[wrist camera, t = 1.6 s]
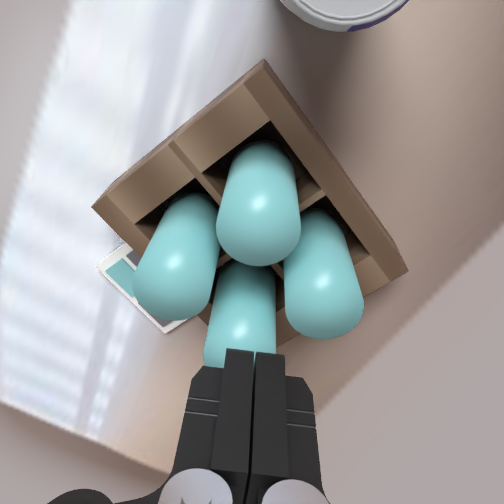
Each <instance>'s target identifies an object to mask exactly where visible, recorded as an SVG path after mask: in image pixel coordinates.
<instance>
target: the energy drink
mask: <svg viewBox="0 0 504 504" xmlns="http://www.w3.org/2000/svg"><path fill="white" fill-rule="evenodd" d="M280 1H281V2H282V3H283V4H284V6H285V7H287V8H288V9H289V10H290V11H291V12H293V13H294V14H295V15H297V16H298V17H299V18H301V19H302V20H303V21H305V22H307V23H309V24H311V25H313V26H316V27H318V28H320V29H325V30H330V31H335V32H349V31H356V30H361V29H365V28H369V27H371V26H373V25H376V24H378V23H380V22H382V21H384V20H386V19H387V18H389V17H390V16H392V15H393V14H394V13H396V12H397V11H399V10H400V9H401V8H402V7H403V6H404V5H405V4H406V3H407V2H408V1H409V0H280Z"/></svg>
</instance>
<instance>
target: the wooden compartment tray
mask: <svg viewBox="0 0 504 504" xmlns="http://www.w3.org/2000/svg"><path fill="white" fill-rule="evenodd" d="M270 120H271V122H272V123H273V124H274V126H275V127H276V128H277V130H278V131H279V132H280V134H281V135H282V136H283V138H284V139H285V140H286V142H287V143H288V145H289V146H290V147H291V149H292V150H293V151H294V153H295V154H296V155H297V157H298V158H299V159H300V161H301V162H302V163H303V165H304V166H305V167H306V169H307V170H308V172H307V173H305V174H304V175H302V176H301V177H300V178H298V179H297V180H296V188H297V196H298V205H299V213H300V212H301V211H303V210H304V209H306V208H307V207H309V206H310V205H312V204H313V203H315V202H316V201H317V200H319V199H320V198H322V197H323V196H325V195H326V196H327V197H328V198H329V200H330V201H331V202H332V204H333V205H334V206H335V208H336V209H337V210H338V212H339V213H340V214H341V216H342V217H343V219H344V220H345V221H346V223H347V224H348V225H349V227H350V228H351V229H352V231H351V232H349V233H347V234H346V235H344V236H345V239H346V243H347V246H348V249H349V253H350V256H351V259H352V263H353V266H354V270H355V273H356V276H357V280H358V283H359V286H360V290H361V293H362V297H365V296H366V295H368V294H370V293H372V292H373V291H375V290H377V289H379V288H380V287H382V286H384V285H386V284H387V283H389V282H391V281H392V280H394V279H396V278H398V277H399V276H401V275H403V274H405V273H406V272H408V269H407V267H406V265H405V263H404V261H403V259H402V257H401V255H400V253H399V251H398V249H397V247H396V245H395V242H394V240H393V239H392V238H391V236H390V235H389V233H388V232H387V231H386V229H385V228H384V226H383V225H382V223H381V222H380V221H379V219H378V218H377V216H376V215H375V214H374V212H373V211H372V209H371V208H370V207H369V205H368V204H367V202H366V201H365V199H364V198H363V197H362V195H361V194H360V192H359V191H358V190H357V188H356V187H355V185H354V184H353V183H352V181H351V180H350V178H349V177H348V176H347V174H346V173H345V171H344V170H343V168H342V167H341V166H340V164H339V163H338V161H337V160H336V159H335V157H334V156H333V154H332V153H331V152H330V150H329V149H328V147H327V146H326V144H325V143H324V142H323V140H322V139H321V137H320V136H319V135H318V133H317V132H316V130H315V129H314V128H313V126H312V125H311V123H310V122H309V120H308V119H307V118H306V116H305V115H304V113H303V112H302V111H301V109H300V108H299V106H298V105H297V104H296V102H295V101H294V99H293V98H292V97H291V95H290V94H289V92H288V91H287V89H286V88H285V87H284V85H283V84H282V82H281V81H280V80H279V78H278V77H277V75H276V74H275V73H274V71H273V70H272V68H271V67H270V65H269V64H268V63H267V61H266V60H265V58H264V59H263V60H261V61H260V62H259V63H258V64H257V65H255V66H254V67H253V68H252V69H250V70H249V71H248V72H247V73H246V74H244V75H243V76H242V77H241V78H239V79H238V80H237V81H236V82H235V83H233V84H232V85H231V86H230V87H229V88H227V89H226V90H225V91H224V92H222V93H221V94H220V95H219V96H218V97H216V98H215V99H214V100H213V101H211V102H210V103H209V104H208V105H207V106H205V107H204V108H203V109H202V110H200V111H199V112H198V113H197V114H196V115H194V116H193V117H192V118H191V119H189V120H188V121H187V122H186V123H185V124H183V125H182V126H181V127H180V128H178V129H177V130H176V131H175V132H174V133H172V134H171V135H170V136H169V137H168V138H166V139H165V140H164V141H163V142H161V143H160V144H159V145H158V146H157V147H155V148H154V149H153V150H152V151H150V152H149V153H148V154H147V155H146V156H144V157H143V158H142V159H141V160H139V161H138V162H137V163H136V164H135V165H133V166H132V167H131V168H130V169H128V170H127V171H126V172H125V173H124V174H122V175H121V176H120V177H119V178H117V179H116V180H115V181H114V182H113V183H112V184H111V185H110V186H109V187H108V188H107V189H106V191H105V192H104V193H103V194H102V195H101V196H100V198H99V199H98V200H97V201H96V202H95V203H94V204H93V206H92V208H93V209H94V210H95V211H96V212H97V213H98V214H99V215H100V217H101V218H102V219H103V220H104V221H105V222H106V223H107V224H108V225H109V226H110V227H111V228H112V229H113V230H114V231H115V232H116V233H117V234H118V235H119V236H120V237H121V238H122V239H123V240H124V241H125V242H126V243H127V244H128V245H129V246H130V247H131V248H132V249H133V250H134V251H135V252H136V253H137V254H138V255H139V256H140V257H141V258H142V256H143V254H144V252H145V250H146V248H147V247H148V245H149V243H150V241H151V239H152V237H153V235H154V233H155V231H156V229H157V227H158V225H159V223H160V221H161V219H162V217H163V215H164V212H163V211H162V210H161V209H160V208H159V207H158V205H160V204H161V203H162V202H164V201H165V200H166V199H168V198H169V197H170V196H172V195H173V194H174V193H175V192H177V191H178V190H179V189H181V188H182V187H183V186H185V185H186V184H187V183H189V182H190V181H191V180H192V179H194V178H196V179H197V180H198V181H199V182H200V183H201V185H202V186H203V187H204V188H205V189H206V190H207V192H208V193H209V194H210V195H211V196H212V197H213V199H214V200H215V201H216V202H217V203H218V204H219V206H220V205H221V201H222V197H223V193H224V189H225V185H226V182H227V178H228V173H227V172H226V171H225V169H224V168H223V167H222V166H221V165H220V163H219V162H218V161H217V160H219V159H220V158H221V157H223V156H224V155H225V154H226V153H228V152H229V151H230V150H232V149H233V148H234V147H236V146H237V145H238V144H240V143H241V142H242V141H244V140H245V139H246V138H247V137H249V136H250V135H251V134H253V133H254V132H255V131H257V130H258V129H259V128H261V127H262V126H263V125H264V124H266V123H267V122H268V121H270ZM231 258H232V257H231V256H230V255H228V254H227V253H226V252H225V250H224V249H223V248H222V246H221V247H220V252H219V257H218V261H217V266H216V268H218V267H219V266H221V265H222V264H224V263H225V262H227V261H228V260H230V259H231ZM271 266H272V268H273V269H274V270H275V271H276V272H277V273H278V275H279V277H278V278H276V347H278V346H279V345H281V344H283V343H285V342H286V341H288V340H290V339H292V338H293V337H295V336H297V335H298V334H300V333H299V332H298V331H296V330H295V329H294V328H293V327H292V326H291V324H290V323H289V321H288V319H287V316H286V312H285V289H284V262H283V260H281V261H279V262H277V263H274V264H271ZM218 276H219V272H218V271H217V270H216V271H215V275H214V280H213V285H212V290H211V294H210V298H209V301H208V303H207V305H206V307H205V308H204V309H203V310H202V311H201V312H200V313H199V314H197V315H198V316H199V317H200V318H201V319H202V320H203V321H204V322H205V323H206V324H207V325H208V326H209V321H210V316H211V311H212V306H213V301H214V296H215V291H216V286H217V281H218Z"/></svg>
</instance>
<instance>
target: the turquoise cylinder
mask: <svg viewBox="0 0 504 504" xmlns="http://www.w3.org/2000/svg"><path fill="white" fill-rule="evenodd" d="M300 222H301V234H300V238H299V241H298V243H297V245H296V247H295V249H294V250H293V251H292V252H291V253H290V254H289V255H288V256H287V257H286V258H284V259H283V262H284V289H285V312H286V316H287V319H288V321H289V323H290V324H291V326H292V327H293V328H294V329H295V330H296V331H298V332H299V333H301V334H303V335H305V336H307V337H310V338H314V339H332V338H336V337H339V336H342V335H344V334H346V333H347V332H349V331H350V330H352V329H353V328H354V327H355V326H356V325H357V324H358V322H359V321H360V319H361V317H362V314H363V311H364V300H363V297H362V293H361V290H360V286H359V283H358V280H357V276H356V273H355V270H354V266H353V263H352V259H351V256H350V253H349V249H348V246H347V243H346V239H345V236H344V232H343V229H342V226H341V224H340V222H339V220H338V219H337V218H336V217H335V216H334V215H333V214H331V213H330V212H328V211H325V210H322V209H316V208H313V209H306V210H303V211H301V212H300Z"/></svg>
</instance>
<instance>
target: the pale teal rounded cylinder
mask: <svg viewBox="0 0 504 504" xmlns="http://www.w3.org/2000/svg"><path fill="white" fill-rule="evenodd" d="M219 209H220V206H219V204H218V203H217V202H216V201H215V200H214V199H213V198H211V197H209V196H207V195H205V194H202V193H197V192H189V193H184V194H181V195H179V196H177V197H176V198H174V199H173V200H172V201H171V202H170V204H169V205H168V207H167V209H166V211H165V213H164V215H163V217H162V219H161V221H160V223H159V225H158V227H157V229H156V231H155V233H154V235H153V237H152V239H151V241H150V243H149V245H148V247H147V248H146V250H145V252H144V254H143V256H142V258H141V260H140V262H139V264H138V266H137V268H136V270H135V272H134V275H133V279H132V289H133V293H134V295H135V298H136V299H137V301H138V302H139V304H140V305H141V306H142V307H143V308H144V309H145V310H146V311H148V312H149V313H150V314H152V315H154V316H156V317H159V318H162V319H165V320H173V321H179V320H185V319H189V318H191V317H194V316H196V315H197V314H199V313H200V312H201V311H202V310H203V309H204V308H205V307H206V305H207V303H208V301H209V298H210V294H211V290H212V285H213V280H214V275H215V271H216V266H217V261H218V257H219V252H220V247H221V244H220V243H219V240H218V237H217V233H216V221H217V217H218V213H219Z"/></svg>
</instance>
